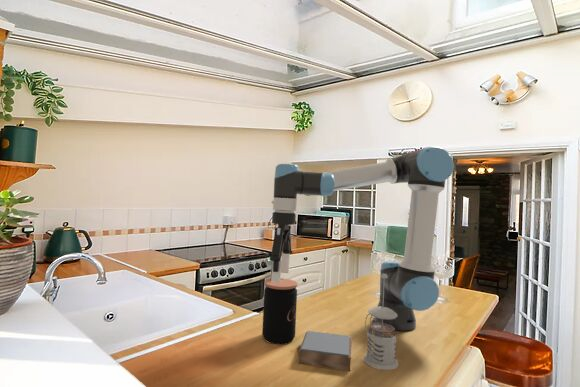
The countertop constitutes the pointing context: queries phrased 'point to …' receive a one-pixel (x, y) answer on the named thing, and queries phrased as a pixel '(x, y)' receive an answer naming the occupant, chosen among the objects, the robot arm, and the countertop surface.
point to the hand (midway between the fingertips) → (280, 277)
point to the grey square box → (326, 350)
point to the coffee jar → (279, 311)
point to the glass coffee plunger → (381, 338)
